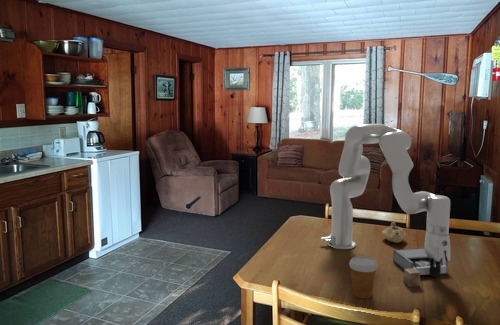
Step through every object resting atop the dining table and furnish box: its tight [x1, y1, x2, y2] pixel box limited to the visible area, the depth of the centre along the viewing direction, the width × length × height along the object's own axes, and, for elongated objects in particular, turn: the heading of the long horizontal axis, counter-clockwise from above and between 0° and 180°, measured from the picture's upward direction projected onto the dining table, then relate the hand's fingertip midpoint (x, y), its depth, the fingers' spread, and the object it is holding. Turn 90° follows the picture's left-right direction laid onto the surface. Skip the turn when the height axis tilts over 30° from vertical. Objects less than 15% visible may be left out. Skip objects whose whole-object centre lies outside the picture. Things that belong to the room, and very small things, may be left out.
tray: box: [409, 258, 448, 276], centre depth 159 cm, size 12×14×3 cm
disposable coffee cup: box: [348, 256, 379, 299], centre depth 138 cm, size 10×10×12 cm
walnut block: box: [403, 268, 421, 287], centre depth 146 cm, size 4×4×5 cm
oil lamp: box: [381, 221, 407, 244], centre depth 191 cm, size 11×15×8 cm
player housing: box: [392, 247, 449, 274], centre depth 161 cm, size 15×14×5 cm
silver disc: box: [411, 258, 430, 267], centre depth 160 cm, size 7×7×2 cm
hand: (434, 275), depth 150 cm, fingers closed
